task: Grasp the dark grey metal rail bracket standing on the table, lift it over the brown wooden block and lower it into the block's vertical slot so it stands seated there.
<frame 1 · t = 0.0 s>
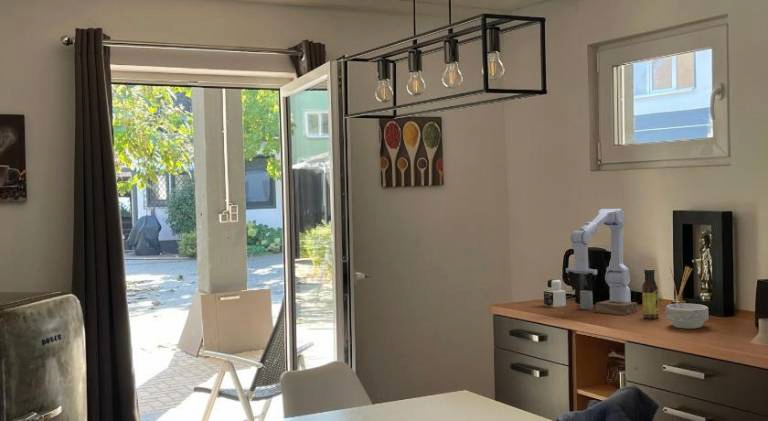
hand: (582, 290, 356), 10 cm above the table, tool pointing down, fingers open, 7 cm apart
grey stone bowl: (687, 327, 318), on the table
medicine bottle: (554, 306, 381), on the table
brown wooden block: (616, 312, 358), on the table
rail bracket: (586, 309, 369), on the table
sauce bottle: (650, 318, 340), on the table
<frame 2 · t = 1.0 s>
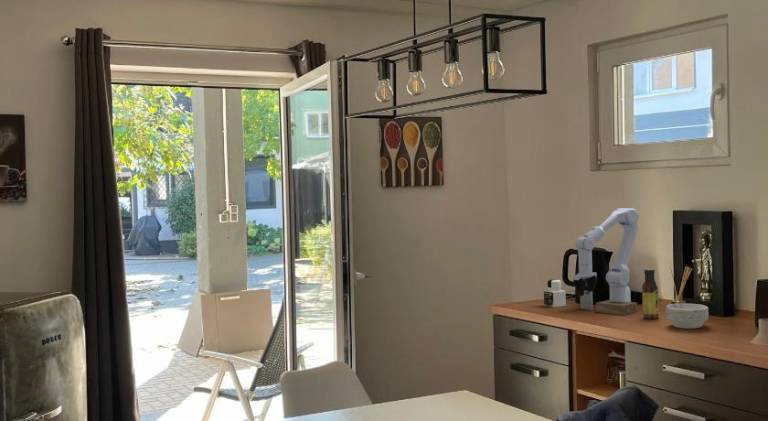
hand: (586, 294, 368), 6 cm above the table, tool pointing down, fingers open, 7 cm apart
nothing on the table moved.
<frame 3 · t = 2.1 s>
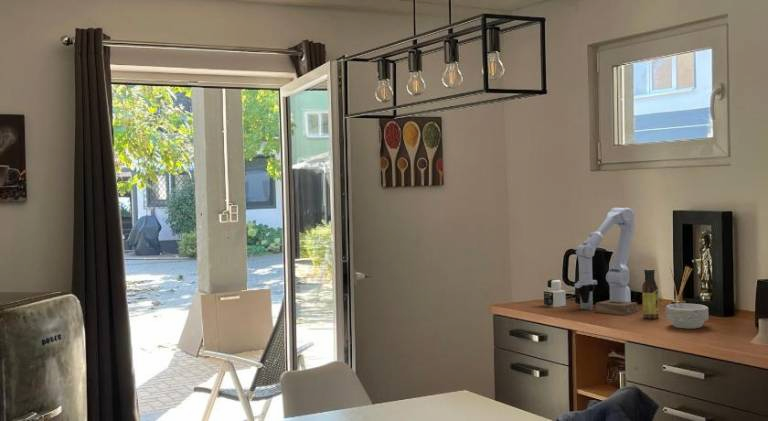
hand: (586, 302, 369), 3 cm above the table, tool pointing down, fingers closed on rail bracket, 2 cm apart
rail bracket: (586, 309, 369), on the table, touching gripper
everything else where it was.
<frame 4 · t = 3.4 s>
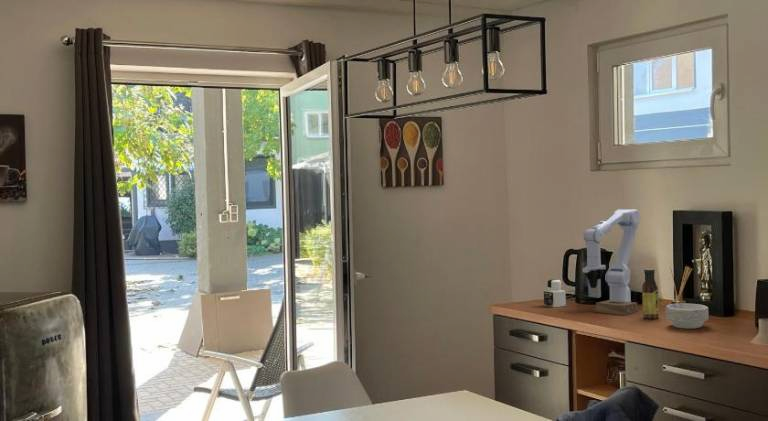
hand: (594, 287, 365), 10 cm above the table, tool pointing down, fingers closed on rail bracket
rail bracket: (594, 296, 365), point 6 cm above the table, touching gripper
everything else where it was.
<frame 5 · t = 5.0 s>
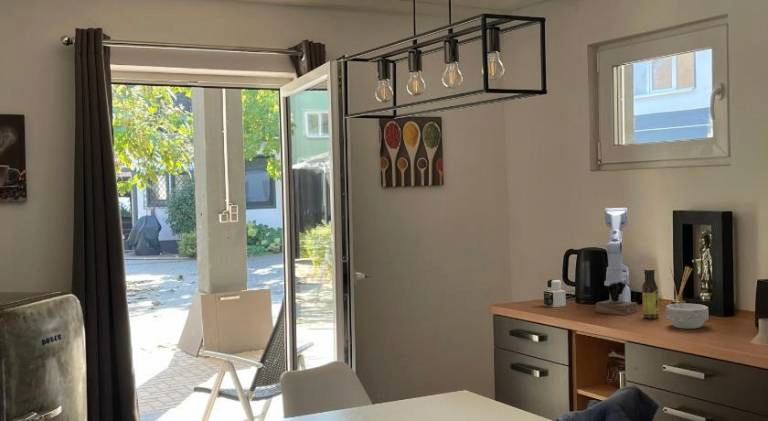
hand: (616, 300, 357), 5 cm above the table, tool pointing down, fingers closed on rail bracket, 2 cm apart
rail bracket: (616, 312, 358), resting in brown wooden block, touching gripper
everything else where it was.
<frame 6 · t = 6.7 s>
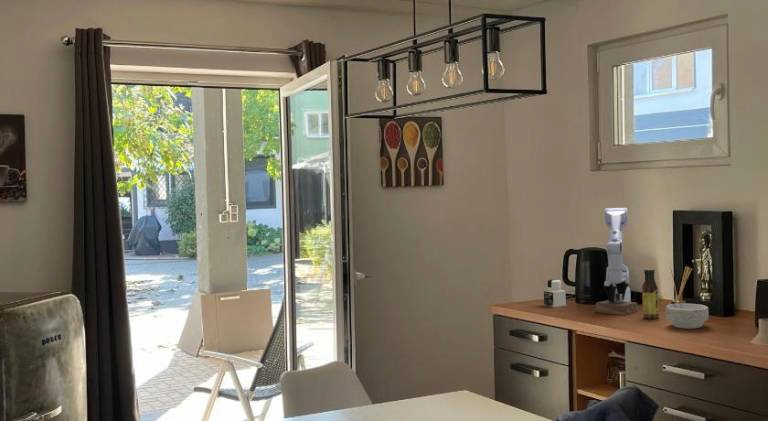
hand: (616, 300, 357), 5 cm above the table, tool pointing down, fingers open, 7 cm apart
rail bracket: (616, 312, 358), resting in brown wooden block
everything else where it was.
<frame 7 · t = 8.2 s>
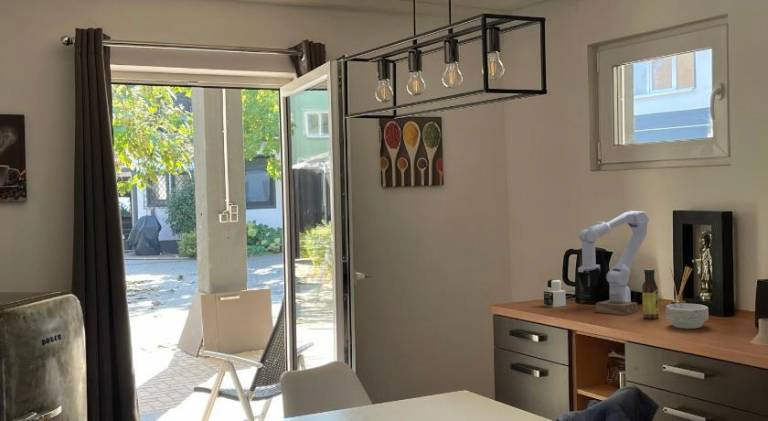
hand: (589, 286, 371), 9 cm above the table, tool pointing down, fingers open, 7 cm apart
nothing on the table moved.
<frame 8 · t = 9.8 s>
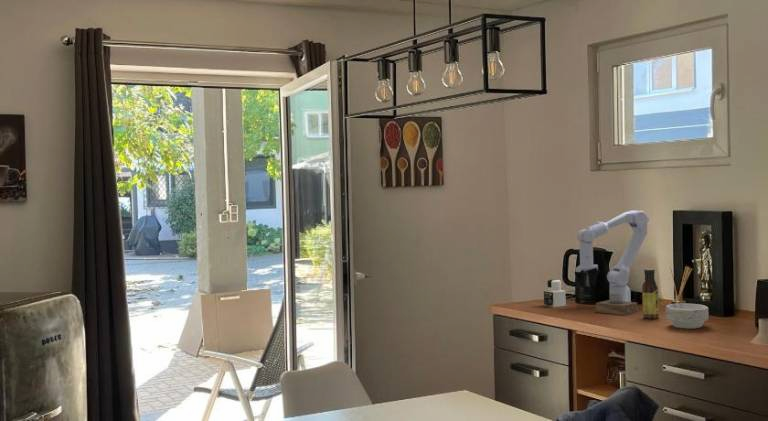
hand: (587, 286, 372), 9 cm above the table, tool pointing down, fingers open, 7 cm apart
nothing on the table moved.
at the end: rail bracket 0.2 cm off-centre on the brown wooden block, point 0.0 cm above the brown wooden block's base; rail bracket tilted 0°; the gripper is holding nothing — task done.
